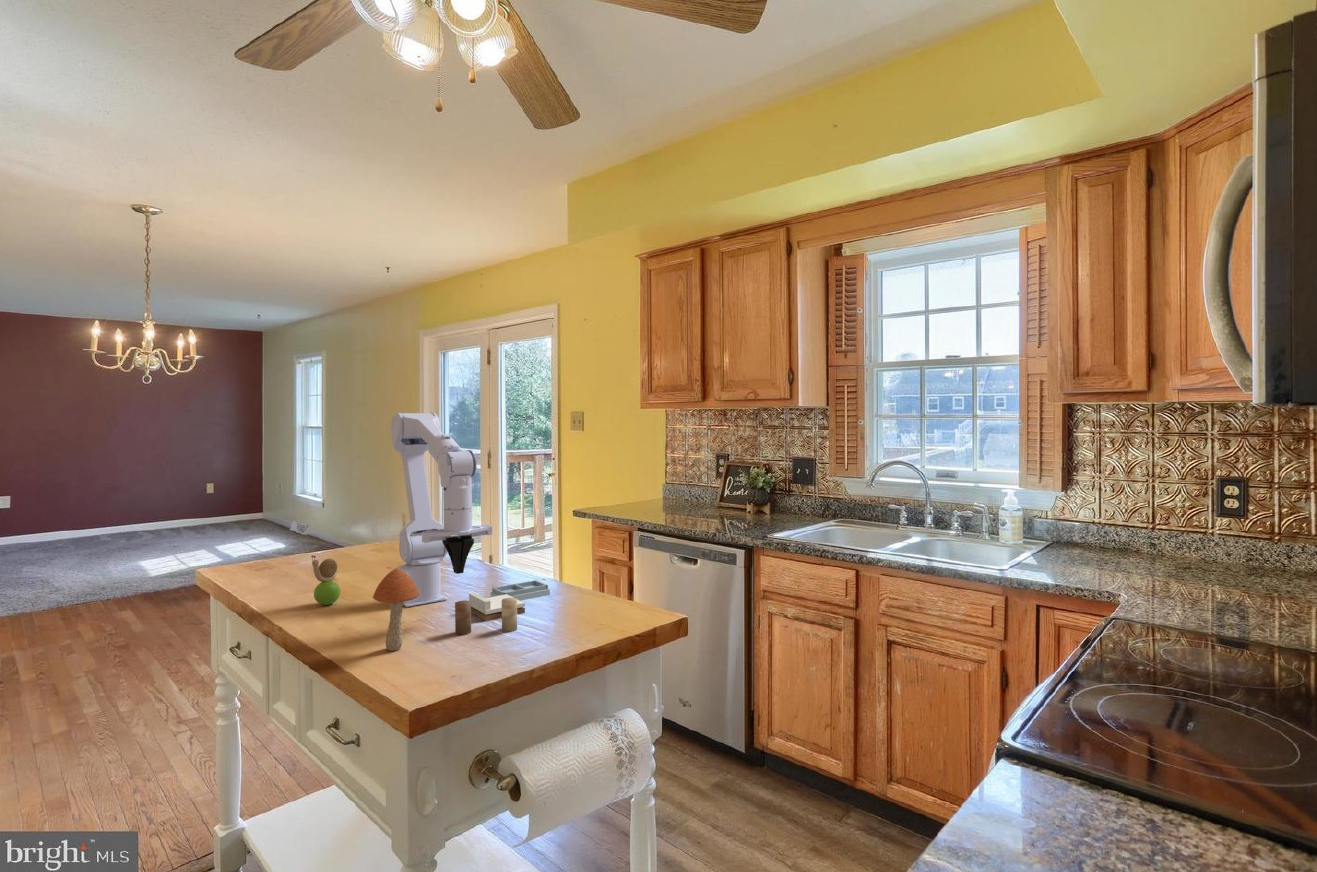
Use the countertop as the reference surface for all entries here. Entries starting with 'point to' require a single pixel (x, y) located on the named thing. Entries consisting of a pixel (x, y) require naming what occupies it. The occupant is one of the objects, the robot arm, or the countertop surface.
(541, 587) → the socket board
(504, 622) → the maple peg
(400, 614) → the mushroom
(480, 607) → the cover
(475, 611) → the board
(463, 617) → the walnut peg
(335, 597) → the snail figurine
